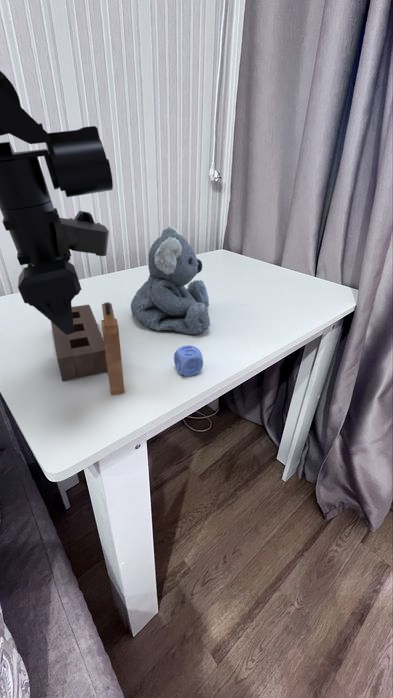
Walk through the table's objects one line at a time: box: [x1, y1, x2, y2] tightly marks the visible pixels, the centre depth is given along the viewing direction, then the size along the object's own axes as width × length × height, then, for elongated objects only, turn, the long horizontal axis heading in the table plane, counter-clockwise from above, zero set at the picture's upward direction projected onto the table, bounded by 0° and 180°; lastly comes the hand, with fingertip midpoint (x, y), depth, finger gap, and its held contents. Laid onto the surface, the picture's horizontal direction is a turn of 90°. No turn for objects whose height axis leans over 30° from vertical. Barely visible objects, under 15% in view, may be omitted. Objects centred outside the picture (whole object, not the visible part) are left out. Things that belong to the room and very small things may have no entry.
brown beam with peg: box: [100, 301, 126, 396], centre depth 50 cm, size 2×7×16 cm, turn 17°
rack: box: [50, 304, 108, 382], centre depth 63 cm, size 8×19×4 cm, turn 24°
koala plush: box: [130, 226, 211, 335], centre depth 71 cm, size 17×18×20 cm
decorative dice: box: [173, 344, 204, 377], centre depth 58 cm, size 4×4×4 cm
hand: (67, 318), depth 48 cm, fingers open, 9 cm apart
